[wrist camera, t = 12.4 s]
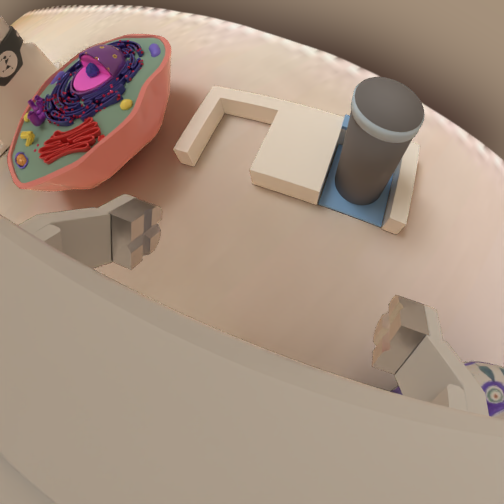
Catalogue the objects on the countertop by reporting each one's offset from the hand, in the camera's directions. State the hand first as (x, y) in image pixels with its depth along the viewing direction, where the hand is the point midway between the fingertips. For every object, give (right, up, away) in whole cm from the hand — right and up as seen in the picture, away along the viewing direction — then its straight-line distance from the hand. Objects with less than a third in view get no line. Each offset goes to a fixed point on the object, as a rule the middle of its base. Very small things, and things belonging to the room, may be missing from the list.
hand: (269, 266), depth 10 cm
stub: (+9, +7, +17) cm, 20 cm away
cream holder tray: (+4, +9, +18) cm, 20 cm away
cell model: (-16, +13, +22) cm, 30 cm away
